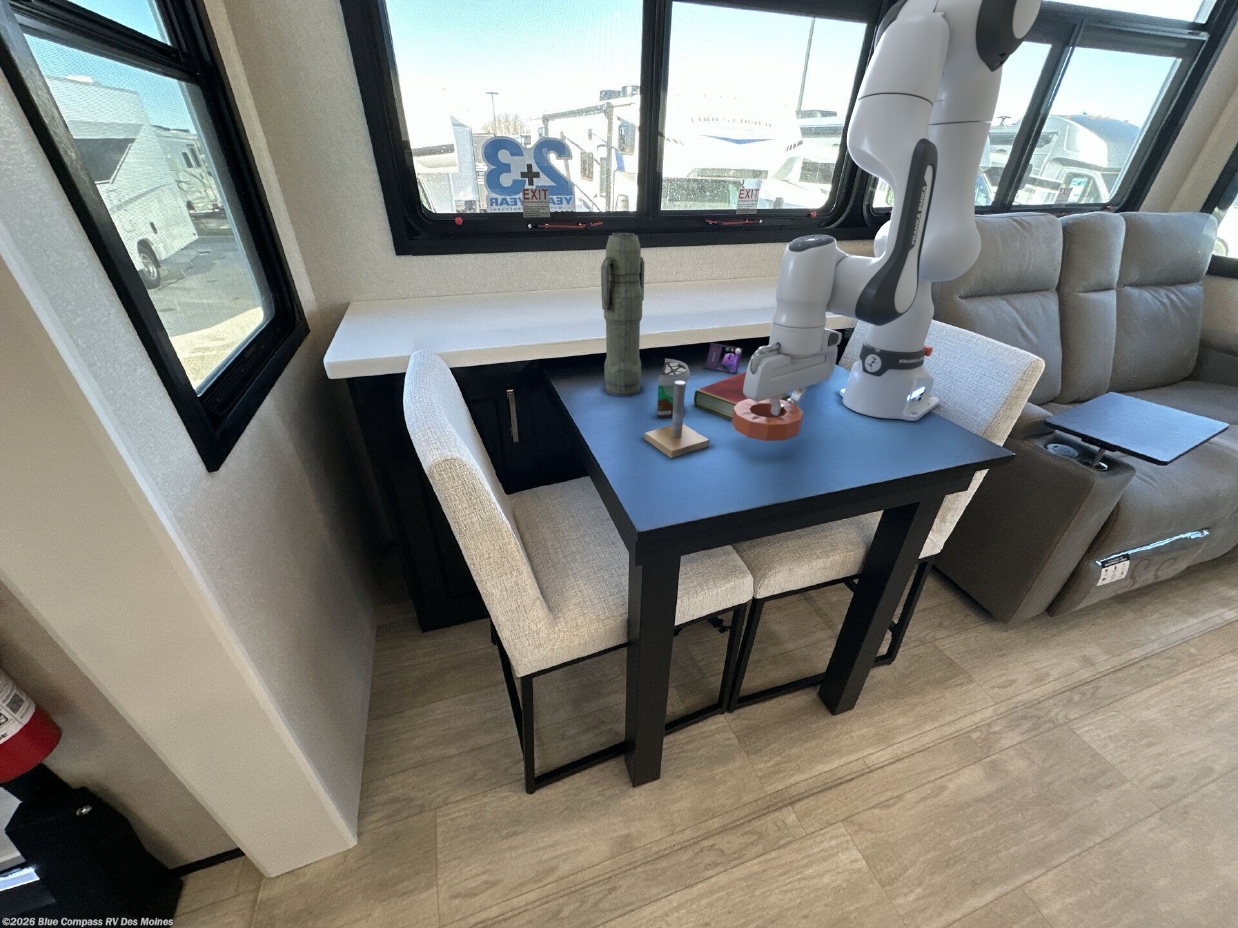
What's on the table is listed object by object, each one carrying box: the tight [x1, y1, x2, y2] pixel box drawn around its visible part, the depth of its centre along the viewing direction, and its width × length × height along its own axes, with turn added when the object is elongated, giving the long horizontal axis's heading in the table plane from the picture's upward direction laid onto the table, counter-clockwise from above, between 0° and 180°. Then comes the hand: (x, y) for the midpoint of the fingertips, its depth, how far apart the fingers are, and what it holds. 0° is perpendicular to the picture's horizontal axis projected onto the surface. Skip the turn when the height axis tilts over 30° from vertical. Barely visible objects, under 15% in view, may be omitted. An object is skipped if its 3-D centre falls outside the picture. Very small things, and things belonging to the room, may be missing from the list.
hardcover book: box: [693, 370, 791, 421], centre depth 112 cm, size 12×21×4 cm, turn 132°
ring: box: [731, 399, 804, 442], centre depth 90 cm, size 12×12×3 cm
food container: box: [656, 358, 691, 419], centre depth 106 cm, size 12×6×10 cm, turn 168°
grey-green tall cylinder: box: [600, 232, 645, 397], centre depth 111 cm, size 9×12×35 cm
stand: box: [644, 381, 710, 459], centre depth 92 cm, size 9×9×12 cm
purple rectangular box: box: [705, 342, 743, 374], centre depth 133 cm, size 7×5×9 cm
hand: (784, 411), depth 92 cm, fingers closed on ring, 3 cm apart
